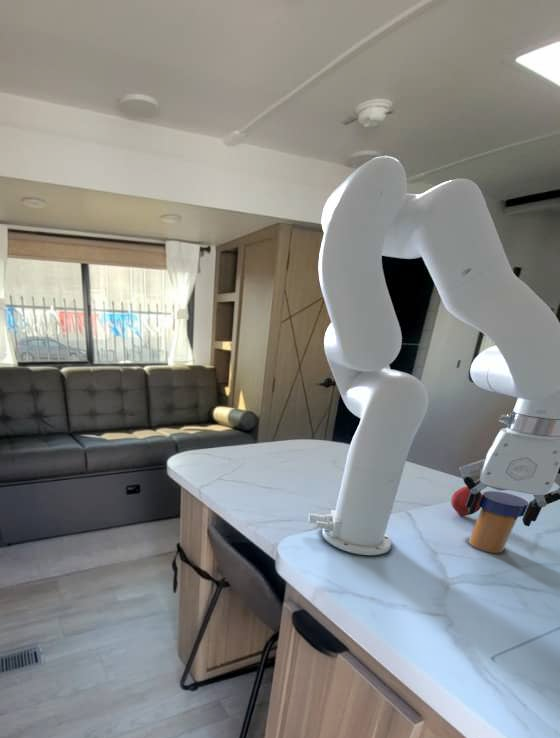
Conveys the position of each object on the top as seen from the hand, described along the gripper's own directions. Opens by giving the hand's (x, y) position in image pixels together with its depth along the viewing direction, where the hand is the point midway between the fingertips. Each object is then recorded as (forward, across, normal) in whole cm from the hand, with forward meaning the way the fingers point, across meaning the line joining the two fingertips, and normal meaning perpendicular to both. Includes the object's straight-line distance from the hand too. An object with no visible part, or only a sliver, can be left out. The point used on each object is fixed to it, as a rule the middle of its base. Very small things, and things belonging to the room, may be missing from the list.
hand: (497, 516), depth 77 cm
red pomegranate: (+6, -4, +13) cm, 15 cm away
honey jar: (+6, 0, 0) cm, 6 cm away
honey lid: (-4, 0, 0) cm, 4 cm away
